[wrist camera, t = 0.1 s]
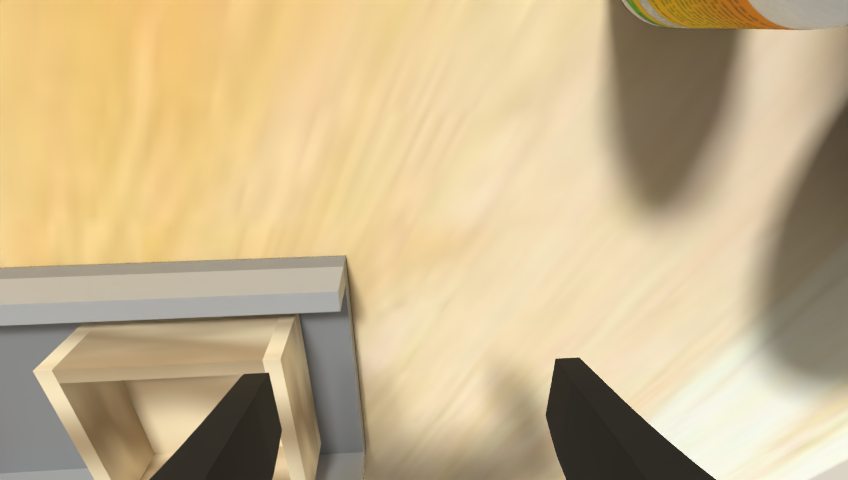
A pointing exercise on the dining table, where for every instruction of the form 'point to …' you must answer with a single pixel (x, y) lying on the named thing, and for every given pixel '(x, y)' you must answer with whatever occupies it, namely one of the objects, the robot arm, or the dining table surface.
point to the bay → (167, 299)
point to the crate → (175, 388)
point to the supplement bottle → (742, 13)
